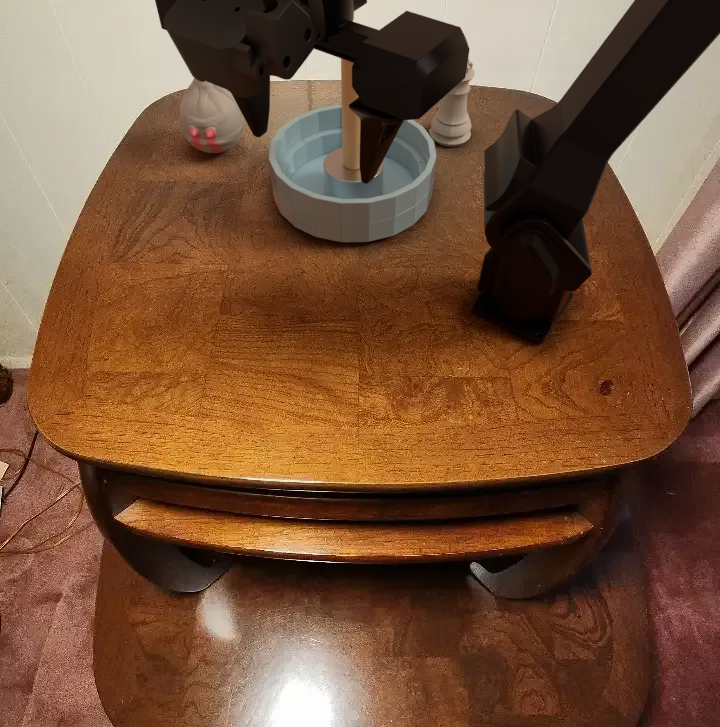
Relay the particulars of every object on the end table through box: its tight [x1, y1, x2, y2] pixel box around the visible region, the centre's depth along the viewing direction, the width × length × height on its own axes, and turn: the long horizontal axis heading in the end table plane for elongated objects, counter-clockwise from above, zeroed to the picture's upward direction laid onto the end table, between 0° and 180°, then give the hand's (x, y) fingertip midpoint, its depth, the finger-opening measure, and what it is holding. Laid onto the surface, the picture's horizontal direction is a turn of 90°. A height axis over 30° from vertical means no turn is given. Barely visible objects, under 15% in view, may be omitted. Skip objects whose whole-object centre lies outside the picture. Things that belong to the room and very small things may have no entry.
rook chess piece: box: [429, 58, 476, 148], centre depth 63 cm, size 4×4×8 cm
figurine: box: [179, 77, 246, 154], centre depth 62 cm, size 6×7×8 cm
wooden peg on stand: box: [323, 58, 383, 199], centre depth 54 cm, size 6×6×14 cm
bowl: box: [268, 103, 437, 243], centre depth 59 cm, size 15×15×5 cm
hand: (312, 156), depth 43 cm, fingers open, 9 cm apart
